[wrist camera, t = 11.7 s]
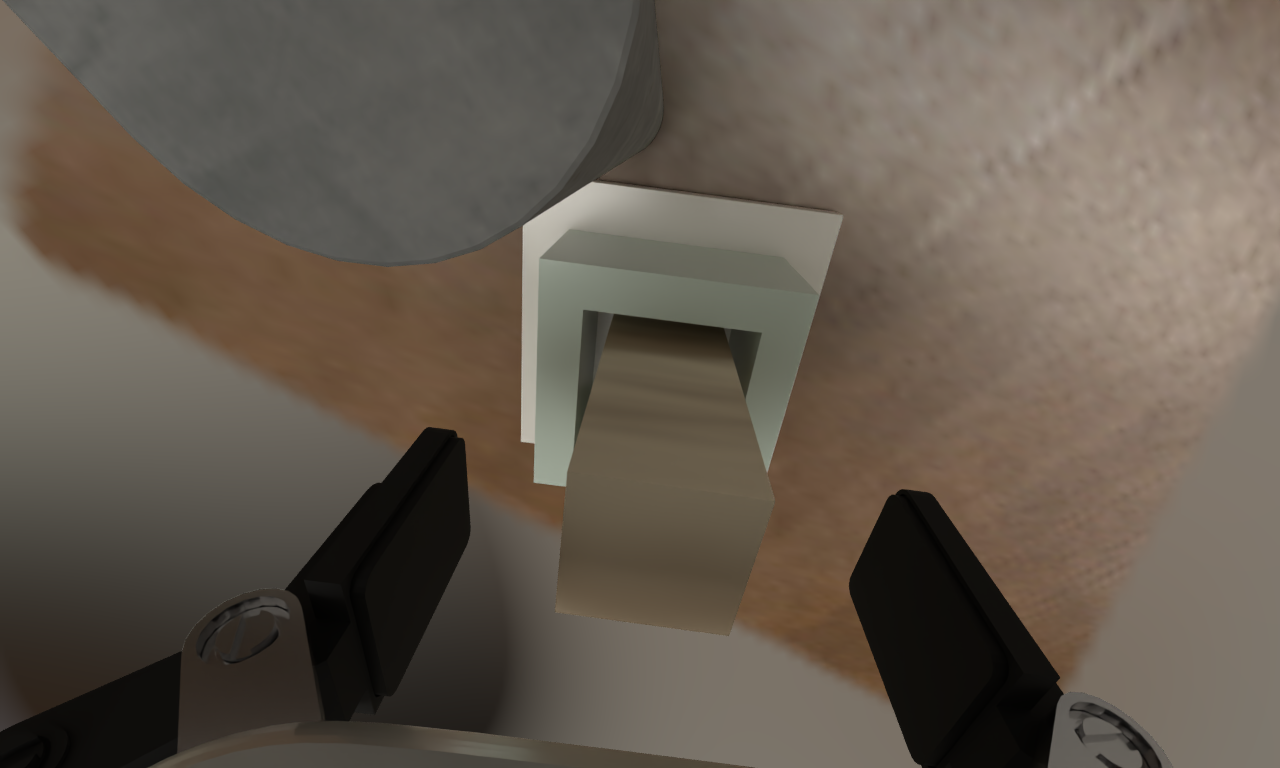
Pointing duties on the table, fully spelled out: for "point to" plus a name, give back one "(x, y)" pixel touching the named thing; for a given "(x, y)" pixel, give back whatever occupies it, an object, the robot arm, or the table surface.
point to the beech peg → (663, 483)
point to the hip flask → (371, 108)
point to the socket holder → (664, 296)
